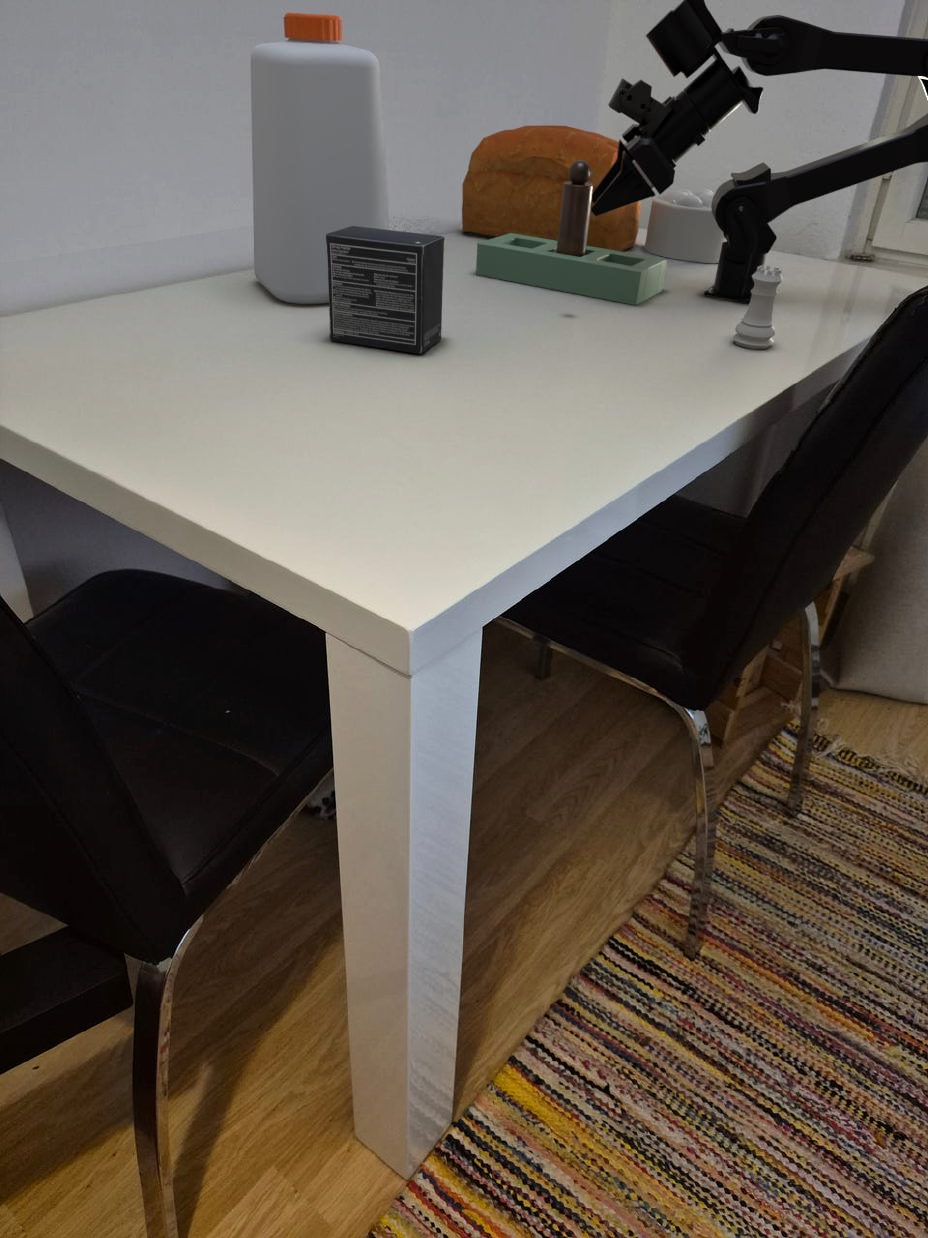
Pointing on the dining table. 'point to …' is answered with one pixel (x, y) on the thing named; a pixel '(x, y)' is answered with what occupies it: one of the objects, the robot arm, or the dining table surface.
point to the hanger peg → (575, 211)
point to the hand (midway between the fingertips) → (592, 206)
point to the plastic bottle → (313, 153)
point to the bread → (540, 185)
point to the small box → (385, 288)
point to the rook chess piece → (759, 311)
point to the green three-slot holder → (571, 268)
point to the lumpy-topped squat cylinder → (684, 227)
